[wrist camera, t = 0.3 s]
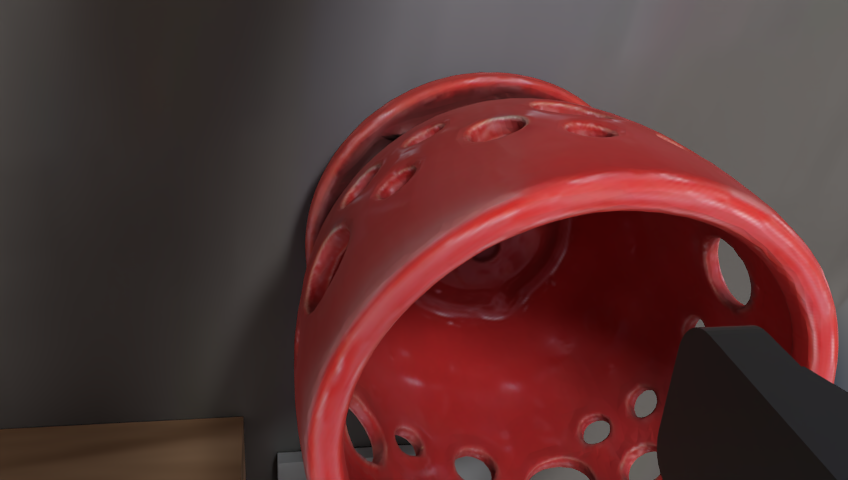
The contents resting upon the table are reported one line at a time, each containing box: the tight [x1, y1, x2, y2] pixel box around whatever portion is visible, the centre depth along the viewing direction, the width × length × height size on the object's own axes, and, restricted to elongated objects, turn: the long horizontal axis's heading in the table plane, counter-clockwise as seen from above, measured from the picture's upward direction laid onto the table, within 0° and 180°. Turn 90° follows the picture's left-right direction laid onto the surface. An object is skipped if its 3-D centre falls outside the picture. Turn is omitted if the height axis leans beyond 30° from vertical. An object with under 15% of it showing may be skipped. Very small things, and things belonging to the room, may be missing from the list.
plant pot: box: [294, 72, 838, 480], centre depth 24 cm, size 13×13×12 cm
